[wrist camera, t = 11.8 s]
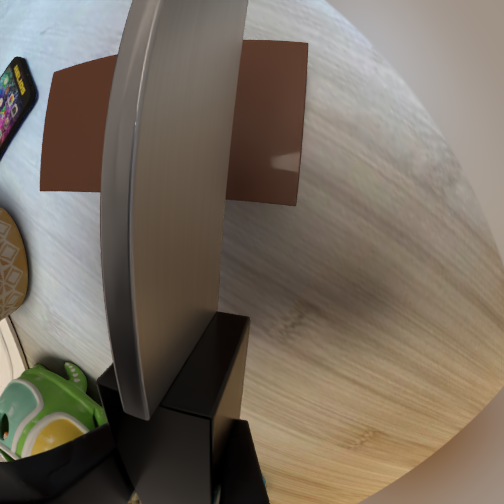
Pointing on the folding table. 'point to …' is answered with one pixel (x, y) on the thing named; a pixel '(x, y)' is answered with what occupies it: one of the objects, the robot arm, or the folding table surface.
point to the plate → (10, 355)
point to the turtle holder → (45, 411)
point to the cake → (76, 127)
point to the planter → (11, 266)
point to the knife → (171, 248)
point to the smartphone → (14, 98)
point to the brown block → (268, 122)
